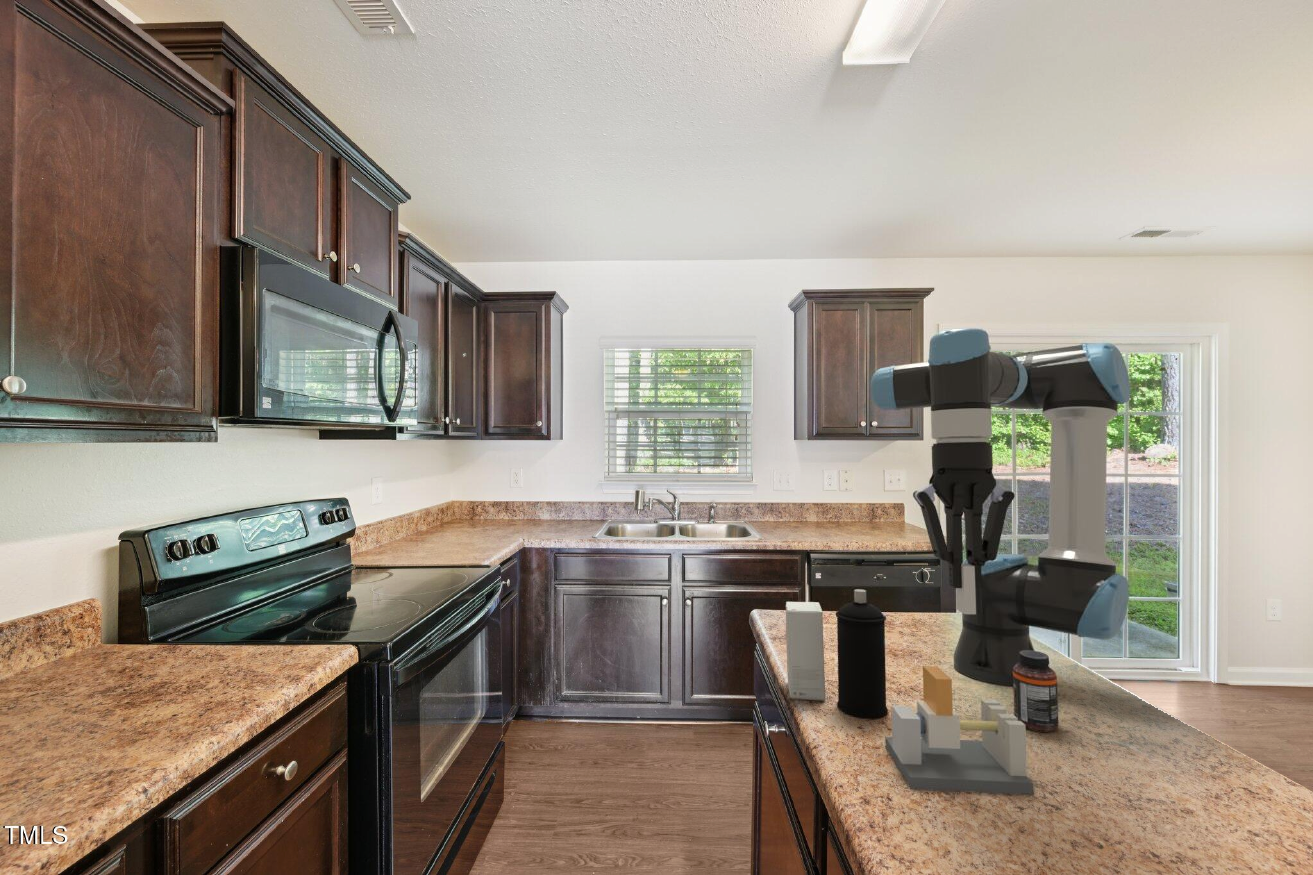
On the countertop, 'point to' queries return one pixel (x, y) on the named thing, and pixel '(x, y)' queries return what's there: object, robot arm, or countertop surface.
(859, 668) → the aerosol can
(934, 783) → the cord board
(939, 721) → the sleeve
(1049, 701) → the supplement bottle
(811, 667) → the skincare box
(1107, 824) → the countertop surface
